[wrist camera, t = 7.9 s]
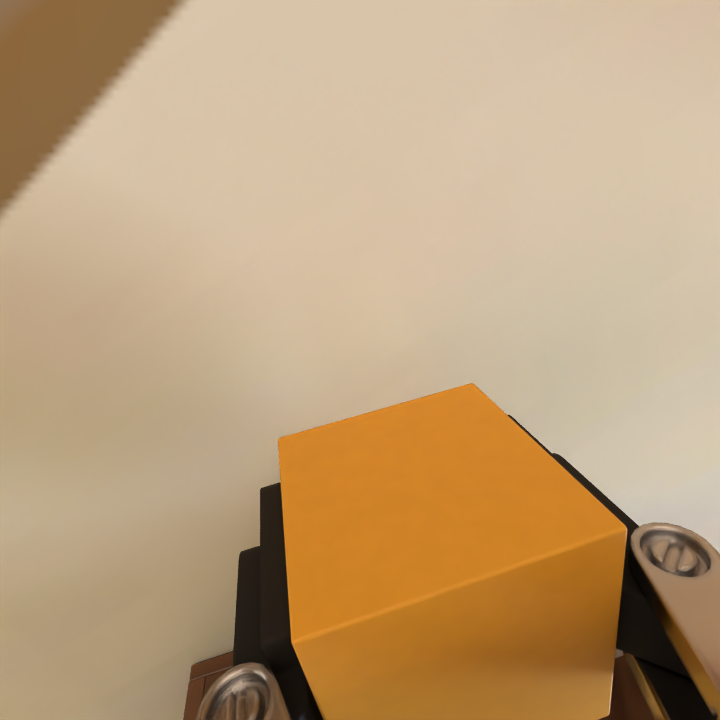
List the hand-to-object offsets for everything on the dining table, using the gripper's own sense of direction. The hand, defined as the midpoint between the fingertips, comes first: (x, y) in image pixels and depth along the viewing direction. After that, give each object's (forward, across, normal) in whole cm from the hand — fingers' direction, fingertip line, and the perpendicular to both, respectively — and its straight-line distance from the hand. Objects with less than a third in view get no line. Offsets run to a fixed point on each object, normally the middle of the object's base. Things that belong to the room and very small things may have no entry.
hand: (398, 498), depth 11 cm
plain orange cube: (0, 0, 0) cm, 0 cm away
